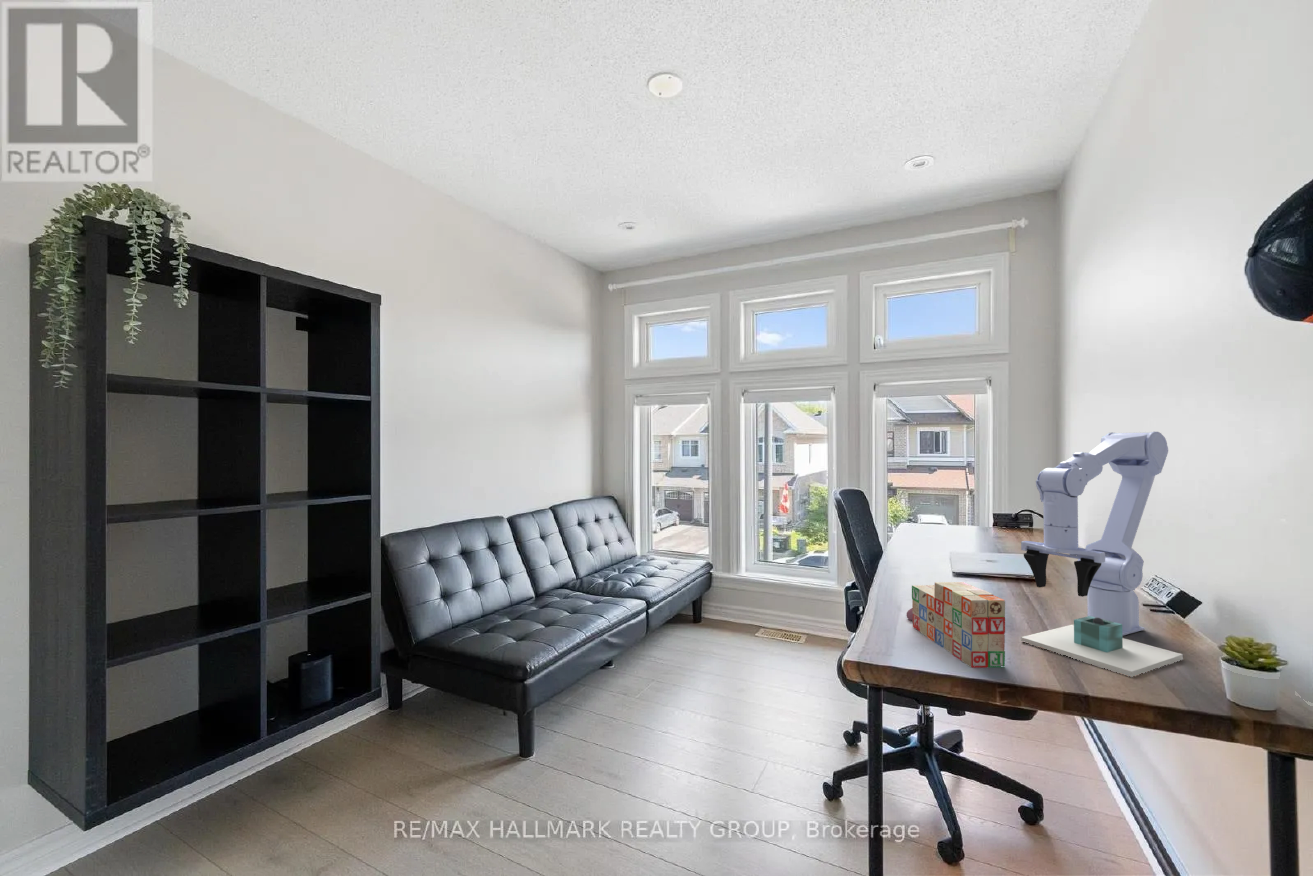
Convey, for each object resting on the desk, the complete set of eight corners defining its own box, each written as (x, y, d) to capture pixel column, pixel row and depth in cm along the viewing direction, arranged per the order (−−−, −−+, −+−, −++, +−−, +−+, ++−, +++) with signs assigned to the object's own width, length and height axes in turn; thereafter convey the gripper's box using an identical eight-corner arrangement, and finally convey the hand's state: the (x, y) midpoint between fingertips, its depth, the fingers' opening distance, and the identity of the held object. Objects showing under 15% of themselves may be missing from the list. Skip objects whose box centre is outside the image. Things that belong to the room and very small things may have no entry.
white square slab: (1072, 629, 114) (1072, 599, 114) (1182, 659, 98) (1182, 625, 98) (1021, 642, 106) (1020, 610, 107) (1131, 677, 90) (1131, 640, 90)
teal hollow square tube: (1089, 638, 106) (1089, 616, 106) (1122, 648, 101) (1122, 624, 101) (1074, 642, 103) (1073, 619, 103) (1107, 652, 99) (1106, 628, 99)
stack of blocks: (911, 627, 115) (911, 571, 116) (939, 627, 115) (939, 570, 116) (971, 668, 94) (971, 599, 94) (1006, 668, 94) (1005, 599, 94)
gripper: (1012, 522, 115) (1013, 585, 115) (1091, 531, 102) (1092, 602, 102) (1031, 520, 118) (1032, 581, 118) (1110, 529, 105) (1111, 598, 105)
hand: (1061, 591), depth 110 cm, fingers open, 7 cm apart
